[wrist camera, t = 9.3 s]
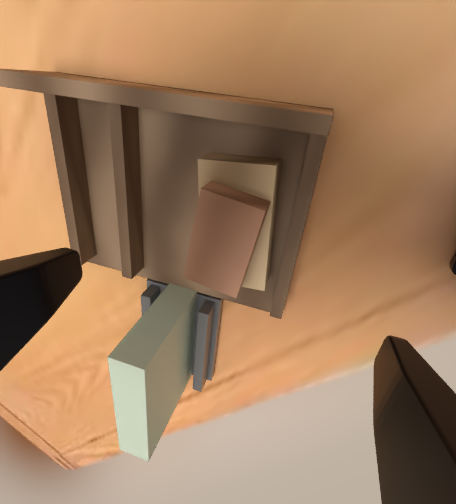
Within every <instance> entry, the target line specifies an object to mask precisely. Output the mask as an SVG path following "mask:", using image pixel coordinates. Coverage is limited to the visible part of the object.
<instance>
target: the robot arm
mask: <svg viewBox="0 0 456 504" xmlns="http://www.w3.org/2000/svg"><path fill="white" fill-rule="evenodd" d="M450 269H451V271H452V272H453V273H454V274H455V275H456V254H455V256H454V257H453V259H452V261H451V263H450ZM81 278H82V267H81V260H80V255H79V253H78V252H77V251H76V250H73V249H69V248H60V249H55V250H50V251H45V252H40V253H35V254H31V255H26V256H21V257H16V258H11V259H6V260H2V261H0V371H1V370H2V369H3V368H4V367H5V366H6V365H7V364H8V363H9V362H10V361H11V360H12V359H13V357H14V356H15V355H16V354H17V353H18V352H19V351H20V350H21V349H22V348H23V347H24V346H25V345H26V344H27V343H28V342H29V341H30V340H31V339H32V337H33V336H34V335H35V334H36V333H37V332H38V331H39V330H40V329H41V328H42V327H43V326H44V325H45V324H46V323H47V322H48V320H49V319H50V318H51V317H52V316H53V315H54V313H55V312H56V311H57V310H58V308H59V307H60V306H61V304H62V303H63V302H64V301H65V299H66V298H67V297H68V296H69V294H70V293H71V292H72V290H73V289H74V288H75V287H76V285H77V284H78V283H79V281H80V280H81ZM373 396H374V398H373V400H374V401H373V402H374V403H373V425H374V437H375V445H376V454H377V463H378V473H379V482H380V491H381V500H382V504H456V394H455V393H454V391H453V390H452V389H451V388H450V387H449V386H448V385H447V384H446V383H445V382H444V380H443V379H442V378H441V377H440V376H439V375H438V374H437V373H436V372H435V371H434V370H433V369H432V367H431V366H430V365H429V364H428V363H427V362H426V361H425V360H424V359H423V358H422V356H421V355H420V354H419V353H418V352H417V351H416V350H415V349H414V348H413V347H412V346H411V344H410V343H409V342H408V341H407V340H405V339H402V338H398V337H395V336H391V335H390V336H387V337H386V338H385V340H384V342H383V344H382V346H381V348H380V350H379V352H378V354H377V356H376V358H375V362H374V395H373Z"/></svg>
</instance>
